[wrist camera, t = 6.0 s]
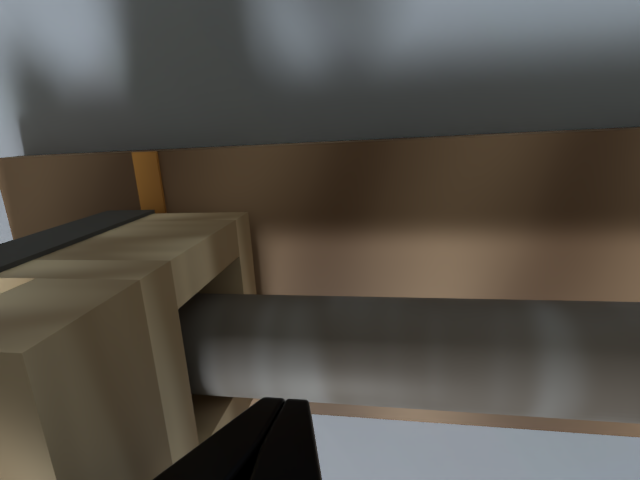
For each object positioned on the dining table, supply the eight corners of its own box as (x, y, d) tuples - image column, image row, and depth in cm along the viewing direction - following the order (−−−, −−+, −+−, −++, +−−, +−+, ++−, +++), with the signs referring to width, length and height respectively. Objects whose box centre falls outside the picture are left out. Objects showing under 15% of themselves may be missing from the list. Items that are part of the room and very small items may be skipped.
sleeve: (248, 211, 12) (22, 353, 5) (264, 375, 13) (109, 679, 6) (153, 213, 13) (-183, 343, 5) (178, 371, 14) (-58, 645, 7)
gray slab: (154, 209, 13) (-20, 274, 7) (180, 372, 14) (51, 523, 9) (107, 210, 13) (-94, 273, 8) (137, 369, 14) (-13, 514, 9)
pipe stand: (790, 119, 11) (1238, 119, 5) (719, 416, 13) (967, 643, 7) (23, 156, 15) (-209, 177, 9) (76, 377, 17) (-82, 504, 12)
